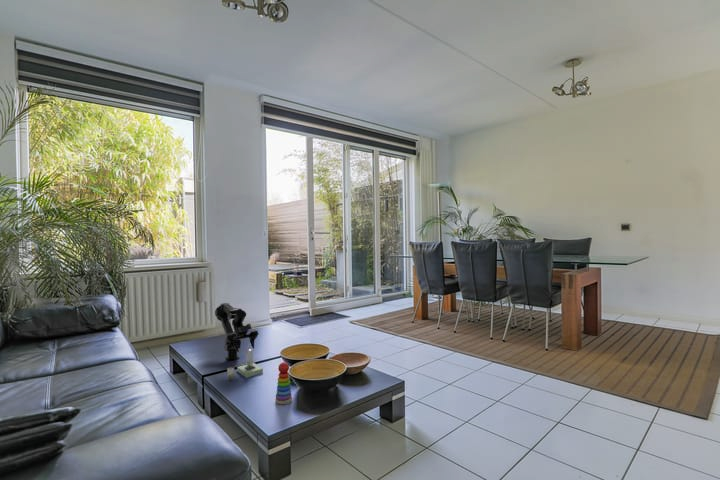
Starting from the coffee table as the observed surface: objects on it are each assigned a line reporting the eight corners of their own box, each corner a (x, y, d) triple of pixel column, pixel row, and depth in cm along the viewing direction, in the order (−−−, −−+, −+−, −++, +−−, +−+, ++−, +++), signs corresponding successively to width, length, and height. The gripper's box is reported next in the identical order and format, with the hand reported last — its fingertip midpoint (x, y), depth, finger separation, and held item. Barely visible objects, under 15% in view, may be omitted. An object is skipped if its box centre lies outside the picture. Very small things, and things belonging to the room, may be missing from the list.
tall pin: (247, 371, 212) (246, 349, 212) (253, 370, 213) (253, 348, 212) (246, 373, 209) (246, 351, 208) (252, 373, 210) (252, 350, 209)
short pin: (226, 379, 202) (226, 368, 201) (232, 377, 204) (232, 366, 204) (229, 381, 199) (228, 370, 199) (235, 379, 201) (235, 368, 201)
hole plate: (237, 371, 212) (237, 367, 212) (253, 366, 219) (253, 362, 219) (246, 377, 203) (246, 373, 203) (262, 372, 210) (262, 368, 210)
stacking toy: (293, 403, 174) (293, 364, 173) (276, 406, 171) (276, 367, 170) (290, 396, 181) (290, 359, 180) (274, 399, 178) (273, 361, 177)
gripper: (226, 322, 212) (233, 346, 204) (257, 317, 223) (265, 339, 215) (221, 332, 218) (228, 356, 210) (252, 327, 230) (259, 349, 222)
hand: (246, 350), depth 214 cm, fingers open, 9 cm apart
